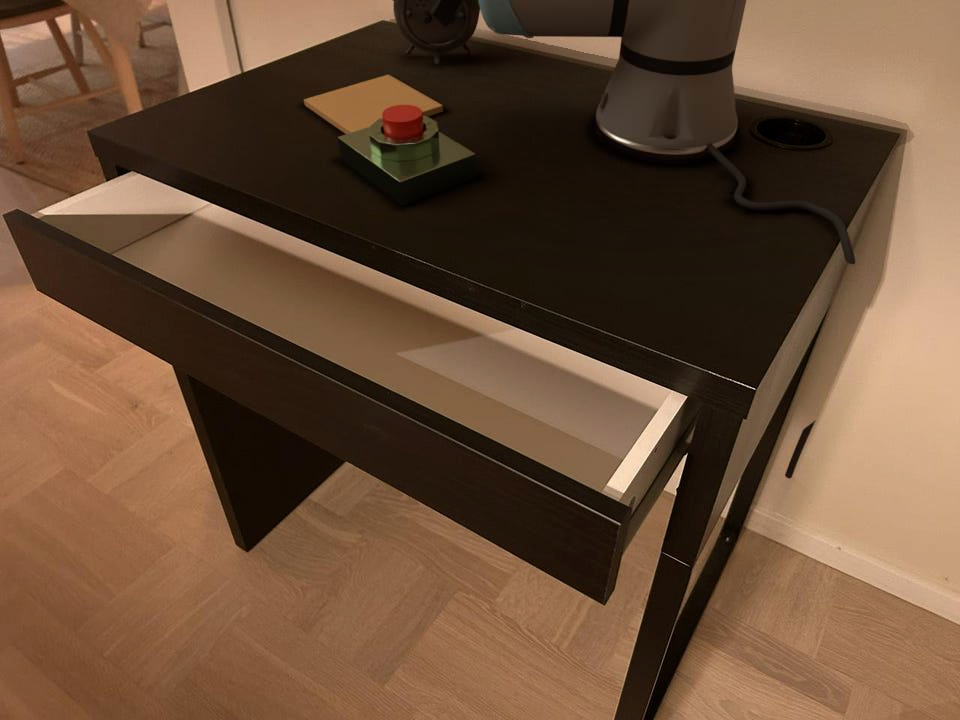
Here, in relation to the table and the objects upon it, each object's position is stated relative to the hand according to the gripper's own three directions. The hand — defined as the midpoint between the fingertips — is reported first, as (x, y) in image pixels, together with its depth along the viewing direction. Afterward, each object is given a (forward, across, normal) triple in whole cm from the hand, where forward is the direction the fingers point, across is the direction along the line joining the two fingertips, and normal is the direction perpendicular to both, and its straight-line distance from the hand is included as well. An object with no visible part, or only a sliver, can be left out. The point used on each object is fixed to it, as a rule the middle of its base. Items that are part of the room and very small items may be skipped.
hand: (414, 9), depth 94 cm
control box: (+17, +23, -7) cm, 29 cm away
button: (+14, +23, -10) cm, 29 cm away
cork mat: (+13, +8, -3) cm, 16 cm away
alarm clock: (+3, 0, +7) cm, 8 cm away
